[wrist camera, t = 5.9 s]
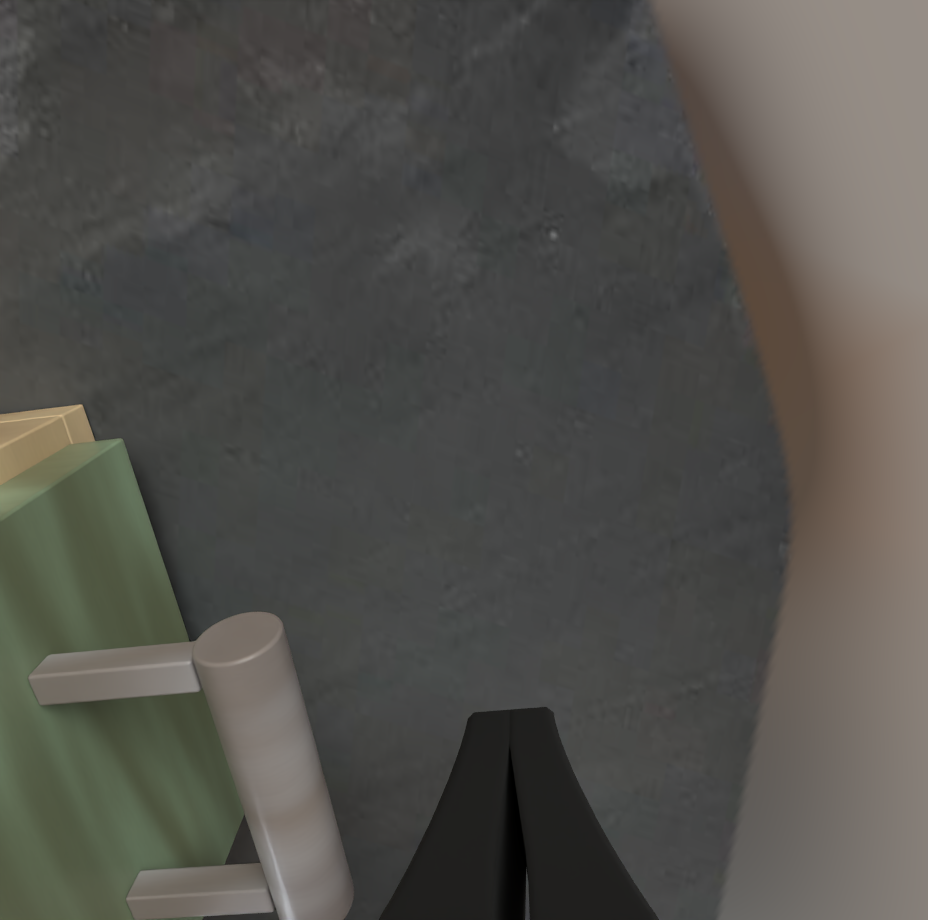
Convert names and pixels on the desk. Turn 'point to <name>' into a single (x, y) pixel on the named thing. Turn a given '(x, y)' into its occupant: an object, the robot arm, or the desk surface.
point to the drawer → (143, 724)
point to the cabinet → (39, 436)
